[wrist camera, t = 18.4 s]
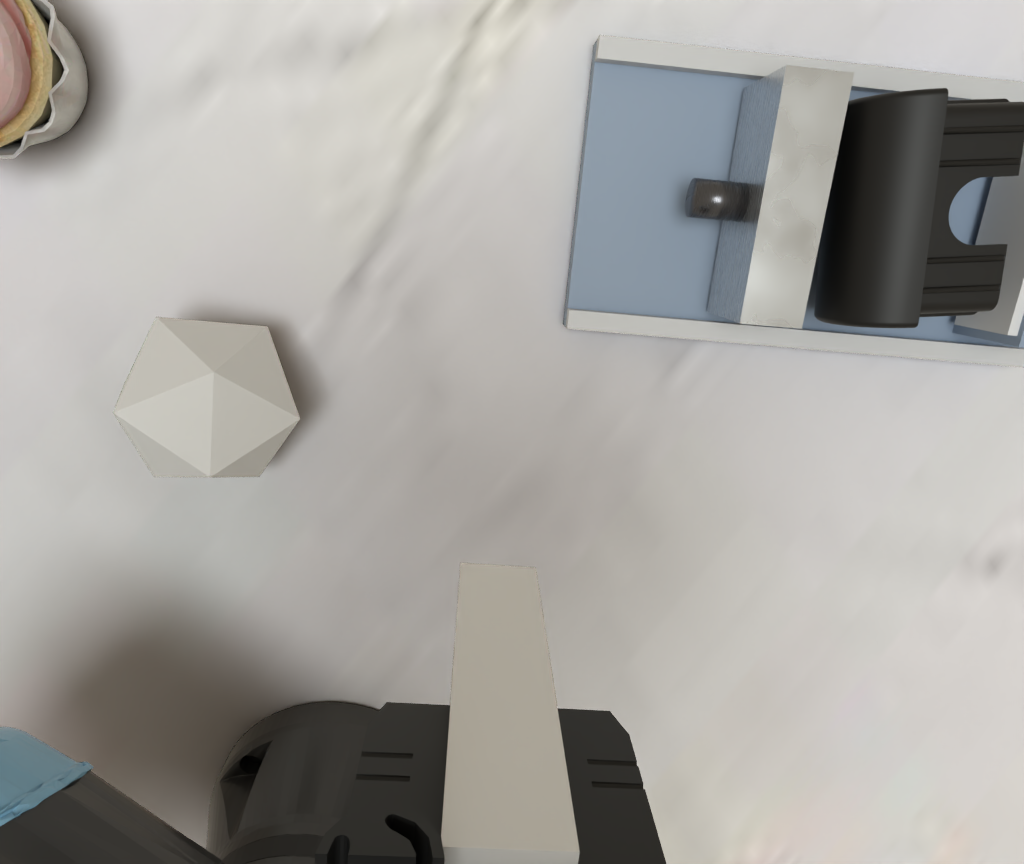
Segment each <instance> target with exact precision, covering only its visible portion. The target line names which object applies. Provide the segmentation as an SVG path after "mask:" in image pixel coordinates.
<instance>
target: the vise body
mask: <svg viewBox="0 0 1024 864" xmlns="http://www.w3.org/2000/svg"><path fill="white" fill-rule="evenodd" d="M785 65H792V66H801V67H810V68H819V69H828V70H837V71H846V72H854V77H853V82H852V87H851V91H850V96H849V101H850V100H854V99H858V98H863V97H868V96H873V95H879V94H886V93H893V92H901V91H910V90H920V89H935V88H947V89H948V100H972V99H1003V98H1005V99H1007V100H1009V101H1010V102H1024V82H1018V81H1009V80H1000V79H991V78H982V77H973V76H964V75H955V74H946V73H937V72H928V71H919V70H910V69H902V68H893V67H884V66H875V65H866V64H857V63H848V62H839V61H830V60H821V59H812V58H803V57H794V56H785V55H777V54H768V53H759V52H750V51H741V50H732V49H723V48H714V47H705V46H696V45H687V44H678V43H669V42H660V41H651V40H643V39H634V38H625V37H616V36H607V35H600V36H599V37H598V39H597V41H596V42H595V44H594V47H593V56H592V65H591V74H590V83H589V92H588V101H587V110H586V120H585V129H584V138H583V147H582V156H581V165H580V174H579V183H578V193H577V202H576V211H575V220H574V229H573V238H572V247H571V256H570V266H569V275H568V284H567V293H566V302H565V311H564V320H563V324H564V326H565V327H566V328H567V329H575V330H587V331H598V332H610V333H622V334H634V335H646V336H657V337H669V338H681V339H693V340H704V341H716V342H728V343H740V344H751V345H763V346H775V347H787V348H798V349H810V350H822V351H834V352H846V353H857V354H869V355H881V356H893V357H904V358H916V359H928V360H940V361H951V362H963V363H975V364H987V365H998V366H1010V367H1022V368H1024V146H1023V152H1022V158H1021V165H1020V171H1019V176H1008V177H981V178H977V179H975V180H972V181H971V182H969V183H967V184H966V185H965V186H964V187H962V188H961V189H960V191H959V192H958V193H957V194H956V196H955V197H954V199H953V201H952V204H951V206H950V210H949V225H950V228H951V231H952V233H953V234H954V236H955V237H956V238H957V239H958V240H959V241H961V242H963V243H965V244H968V245H989V244H1008V245H1007V252H1006V258H1005V264H1004V270H1003V276H1002V283H1001V289H1000V295H999V300H998V303H997V305H996V307H995V308H994V309H993V310H991V311H983V312H977V313H976V314H974V315H962V316H938V317H919V324H918V326H917V327H916V328H868V327H853V326H843V325H835V324H829V323H825V322H822V321H819V320H818V319H817V318H816V317H815V316H814V310H815V299H816V287H817V276H818V264H819V253H820V243H819V247H818V252H817V257H816V262H815V267H814V272H813V277H812V282H811V287H810V291H809V296H808V301H807V306H806V311H805V316H804V321H803V326H802V329H797V328H786V327H774V326H763V325H751V324H740V323H737V322H734V321H732V320H729V319H726V318H723V317H721V316H718V315H715V314H712V313H710V312H707V308H708V302H709V296H710V290H711V284H712V278H713V272H714V266H715V260H716V254H717V248H718V242H719V236H720V230H721V224H722V220H712V219H701V218H691V217H687V216H686V212H685V202H686V195H687V191H688V188H689V185H690V182H691V181H692V179H693V178H702V179H712V180H722V181H729V176H730V170H731V164H732V158H733V151H734V145H735V139H736V133H737V127H738V121H739V115H740V109H741V103H742V97H743V91H744V88H745V87H747V86H749V85H750V84H752V83H754V82H756V81H758V80H760V79H761V78H763V77H765V76H767V75H769V74H771V73H772V72H774V71H776V70H778V69H780V68H782V67H783V66H785ZM820 241H821V238H820Z"/></svg>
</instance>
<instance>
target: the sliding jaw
mask: <svg viewBox="0 0 1024 864" xmlns="http://www.w3.org/2000/svg"><path fill="white" fill-rule="evenodd" d="M853 77H854V72H846V71H837V70H828V69H819V68H810V67H801V66H792V65H785V66H783V67H782V68H780V69H778V70H776V71H774V72H772V73H771V74H769V75H767V76H765V77H763V78H761V79H760V80H758V81H756V82H754V83H752V84H750V85H749V86H747V87H745V88H744V91H743V97H742V103H741V109H740V115H739V121H738V127H737V133H736V139H735V145H734V151H733V158H732V164H731V170H730V176H729V181H722V180H712V179H702V178H693V179H692V181H691V182H690V185H689V188H688V191H687V195H686V202H685V212H686V216H687V217H691V218H701V219H712V220H722V224H721V230H720V236H719V242H718V248H717V254H716V260H715V266H714V272H713V278H712V284H711V290H710V296H709V302H708V308H707V312H710V313H712V314H715V315H718V316H721V317H723V318H726V319H729V320H732V321H734V322H737V323H740V324H751V325H763V326H774V327H786V328H797V329H802V326H803V321H804V316H805V311H806V306H807V301H808V296H809V291H810V287H811V282H812V277H813V272H814V267H815V262H816V257H817V252H818V247H819V243H820V238H821V233H822V228H823V223H824V218H825V213H826V208H827V204H828V199H829V194H830V189H831V184H832V179H833V174H834V169H835V165H836V160H837V155H838V150H839V145H840V140H841V135H842V130H843V126H844V121H845V116H846V111H847V106H848V101H849V96H850V91H851V87H852V82H853Z"/></svg>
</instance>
